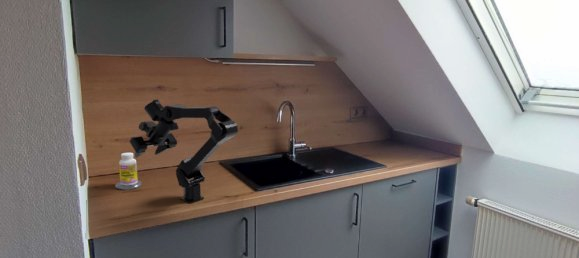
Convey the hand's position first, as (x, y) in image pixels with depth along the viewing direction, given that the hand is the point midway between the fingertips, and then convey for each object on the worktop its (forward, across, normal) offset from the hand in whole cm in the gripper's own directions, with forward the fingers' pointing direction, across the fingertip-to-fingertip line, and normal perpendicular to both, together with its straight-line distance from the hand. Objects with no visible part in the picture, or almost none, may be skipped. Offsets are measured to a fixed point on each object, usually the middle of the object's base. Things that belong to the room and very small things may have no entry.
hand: (145, 155), depth 150 cm
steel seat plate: (+16, +2, +3) cm, 16 cm away
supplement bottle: (+15, +2, +2) cm, 16 cm away
